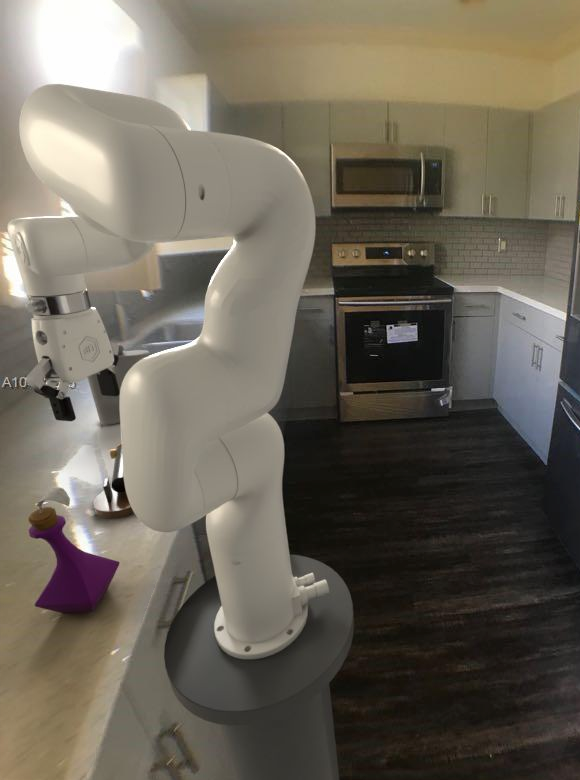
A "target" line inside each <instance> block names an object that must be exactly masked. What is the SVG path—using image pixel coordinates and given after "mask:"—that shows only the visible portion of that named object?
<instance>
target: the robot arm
mask: <svg viewBox="0 0 580 780" xmlns="http://www.w3.org/2000/svg"><path fill="white" fill-rule="evenodd" d="M18 132H19V139H20V144H21V148H22V151H23V154H24V156H25V160H26V161H27V163H28V165H29V167H30V169H31V170H32V172H33V173H34V174H35V176H36V177H37V178H38V180H39V181H40V182H41V183H42V184H43V185H44V186H45V187H46V188H47V189H48V190H50V191H51V192H52V193H54V194H55V196H57V197H59V198H60V199H61V200H63V201H64V202H66V203H67V204H68V205H69V207H70V208H71V210H72V212H73V213H74V214H75V215H59V216H35V217H18V218H13V219H11V220H10V221H9V222H8V223H7V228H6V229H7V233H8V238H9V240H10V241H9V242H10V244H11V248H12V251H13V254H14V257H15V260H16V264H17V267H18V271H19V274H20V277H21V280H22V283H23V286H24V290H25V293H26V297H27V300H28V303H27V304H26V305H25V309H26V311H27V312H28V313H30V314H32V317H33V318H31V332H32V340H33V345H34V351H35V355H36V360H37V362H38V363H37V364H36V365H35V366H34V368H32V370H31V371H30V372H29V373H28V374H27V375H26V376H25V379H24V381H25V383H26V384H27V385H28V386H29V387H31V388H32V389H33V391H34V392H35V393H36V394H39V395H40V396H42V397H43V398H45V399H48V400H49V403H50V407H51V410H52V413H53V417H54V419H55V420H56V421H62V422H73V421H75V420H76V419H77V417H76V413H75V409H74V406H73V402H72V400H71V397H70V396H68V395H67V391H68V389H69V385H70V383H71V384H72V383H74V384H75V383H77V382H80V381H83V380H85V379H88V377H89V376H91V375H94V374H96V373H98V372H100V373H98V374H97V379H98V383H99V386H100V390H101V394H102V395H104V396H118V395H120V423H119V424H120V425H119V426H120V439H121V440H120V441H121V442H120V443H122V461H123V475H124V483H125V489H126V493H127V497H128V500H129V503H130V505H131V507H132V509H133V511H134V513H133V514H134V515H135V516H136V517H137V519H138V520H139V521H140V522H141V523H142V524H143V525H144V526H145V527H147V528H149V529H151V530H153V531H156V532H159V533H171V532H172V533H173V532H177V531H179V530H182V529H184V528H186V527H189V526H190V525H192V524H194V523H196V522H197V521H199V520H201V519H203V518H204V517H205V531H206V536H207V542H208V546H209V551H210V556H211V560H212V565H213V570H214V571H213V572H214V576H215V575H216V580H217V585H218V590H219V594H220V599H221V604H222V606H221V607H220V609H219V611H218V613H217V615H216V619H215V622H214V632H215V637H216V640H217V643H218V645H219V646H220V647H221V649H222V650H223V651H224V652H226V653H227V654H228V655H231V656H233V657H235V658H240V659H259V658H264V657H267V656H270V655H273V654H275V653H277V652H279V651H281V650H283V649H284V648H285V647H287V646H288V645H290V644H291V643H292V642H293V641H294V640H295V639H296V638H297V637H298V635H299V634H300V633H301V631H302V630H303V628H304V626H305V624H306V620H307V617H308V606H307V604H308V600H310V599H312V598H315V597H320V596H322V595H325V594H328V593H329V588H328V584H327V581H326V580H322V581H319V582H317V583H314V584H313V585H311V586H308V587H304V585H308V584H311V583H313V582H315V578H314V575H313V573H310V574H307V575H305V576H303V577H300V578H298V579H297V577H294V578H293V575H292V570H291V562H290V555H291V554H290V548H289V540H288V533H287V525H286V516H285V507H284V498H283V476H284V465H285V441H284V437H283V433H282V430H281V427H280V425H279V424H278V422H277V421H276V420H275V418H274V417H273V416H272V415H271V414H269V412H270V411H272V409H274V408H275V407H276V405H277V404H278V402H279V400H280V398H281V395H282V392H283V388H284V384H285V380H286V374H287V370H288V363H289V357H290V352H291V347H292V341H293V336H294V331H295V323H296V317H297V311H298V306H299V301H300V298H301V294H302V291H303V287H304V284H305V281H306V278H307V274H308V272H309V268H310V264H311V259H312V256H313V252H314V247H315V242H316V241H315V240H316V228H317V226H316V212H315V205H314V200H313V197H312V194H311V193H312V192H311V190H310V187H309V185H308V183H307V181H306V179H305V177H304V174H303V173H302V171H301V170H300V168H299V166H298V165H297V164H296V163H295V161H294V160H293V159H291V157H289V156H288V155H287V154H286V153H285V152H283V151H282V150H280V149H279V148H278V147H275V146H274V145H272V144H270V143H267V142H265V141H262V140H258V139H254V138H251V137H247V136H243V135H237V134H230V133H223V132H215V131H204V130H192V129H191V126H190V125H189V124H188V123H187V122H186V120H184V118H183V117H182V116H181V115H180V114H179V113H177V112H176V111H175V110H173V109H171V108H170V107H169V106H167V105H165V104H163V103H161V102H158V101H156V100H153V99H150V98H146V97H142V96H136V95H132V94H125V93H119V92H113V91H106V90H100V89H95V88H88V87H83V86H82V87H81V86H77V85H70V84H63V83H51V84H45V85H42V86H39V87H37V88H36V89H35V90H33V91H32V92H31V93H29V95H28V96H27V98H26V99H25V100H24V102H23V105H22V107H21V111H20V114H19V123H18ZM228 237H231V238H232V240H233V243H232V246H231V248H230V249H229V251H228V252H227V253H226V254H225V255H224V257H223V258H222V260H221V261H220V262H219V263H218V266H217V267H216V269H215V270H214V273H213V274H212V276H211V279H210V281H209V284H208V286H207V288H206V289H207V290H206V294H205V297H204V315H203V323H202V329H201V331H200V334H199V336H198V337H197V338H196V339H194V340H193V341H191V342H188V343H186V344H184V345H180V346H176V347H173V348H170V349H169V348H168V349H165V350H162V351H158V352H156V353H153V354H150V356H148V357H145V358H144V359H142V360H140V361H138V362H137V363H136V364H134V365H133V366H132V367H131V368H130V370H129V371H128V372H127V374H126V375H125V377H124V380H123V382H122V385H121V389H120V391H119V387H118V383H117V379H116V375H115V374H114V373H116V372H117V367H116V365H117V362H118V359H119V358H118V356H117V355H118V351H119V344H120V343H119V342H118V343H117V342H115V341H111V340H110V338H109V336H108V332H107V330H106V327H105V325H104V322H103V320H102V318H101V316H100V314H99V311H98V310H97V309H96V307H93V306H92V304H91V299H90V295H89V292H88V288H87V284H86V280H85V276H84V274H85V273H87V274H88V273H93V272H103V271H110V270H120V269H124V268H128V267H130V266H133V265H135V264H136V263H138V262H139V261H140V260H142V259H143V258H144V257H145V256H146V255H148V254H149V253H150V252H151V250H152V249H153V247H154V245H155V244H163V243H172V242H184V241H185V242H187V241H196V240H208V239H217V238H228ZM45 381H46V382H45ZM57 384H58V385H57ZM56 386H57V388H56ZM66 395H67V396H66Z"/></svg>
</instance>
